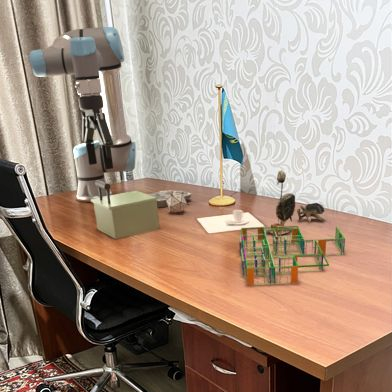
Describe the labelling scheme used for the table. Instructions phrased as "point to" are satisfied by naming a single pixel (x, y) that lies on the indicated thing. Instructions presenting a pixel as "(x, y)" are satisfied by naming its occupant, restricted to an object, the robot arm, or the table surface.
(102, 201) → the lid
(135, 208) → the chest
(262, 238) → the wall framing model
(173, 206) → the game die
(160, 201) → the brain slice
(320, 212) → the brown animal figurine
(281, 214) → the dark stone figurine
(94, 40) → the robot arm
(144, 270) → the table surface
